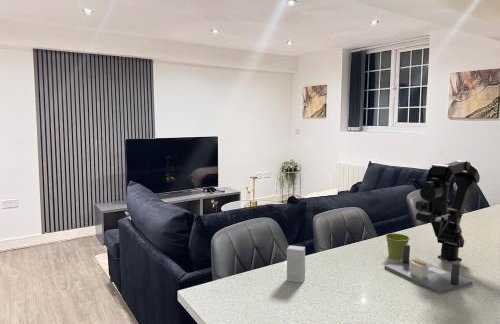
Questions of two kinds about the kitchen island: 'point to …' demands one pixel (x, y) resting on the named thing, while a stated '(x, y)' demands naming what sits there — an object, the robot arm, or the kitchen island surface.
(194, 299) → the kitchen island surface
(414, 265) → the orange striped block
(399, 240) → the plant pot
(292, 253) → the skincare box
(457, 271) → the cord post
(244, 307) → the kitchen island surface
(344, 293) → the kitchen island surface
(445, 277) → the panel
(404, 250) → the cord post
